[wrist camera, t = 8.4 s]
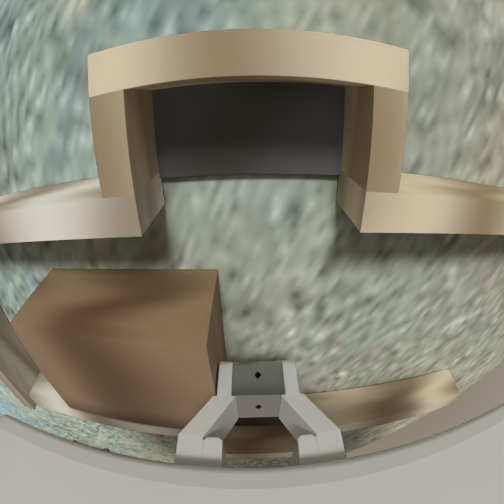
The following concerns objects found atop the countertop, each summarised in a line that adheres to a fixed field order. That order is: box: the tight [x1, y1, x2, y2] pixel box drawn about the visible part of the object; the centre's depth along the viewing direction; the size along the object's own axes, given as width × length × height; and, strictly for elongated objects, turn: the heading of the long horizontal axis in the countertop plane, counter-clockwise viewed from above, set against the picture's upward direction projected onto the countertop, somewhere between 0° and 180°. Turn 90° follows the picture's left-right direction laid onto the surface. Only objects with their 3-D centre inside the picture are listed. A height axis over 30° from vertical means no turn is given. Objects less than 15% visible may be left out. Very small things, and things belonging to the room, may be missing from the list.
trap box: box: [0, 29, 504, 459], centre depth 11 cm, size 31×22×3 cm
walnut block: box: [10, 268, 227, 429], centre depth 11 cm, size 8×6×4 cm
